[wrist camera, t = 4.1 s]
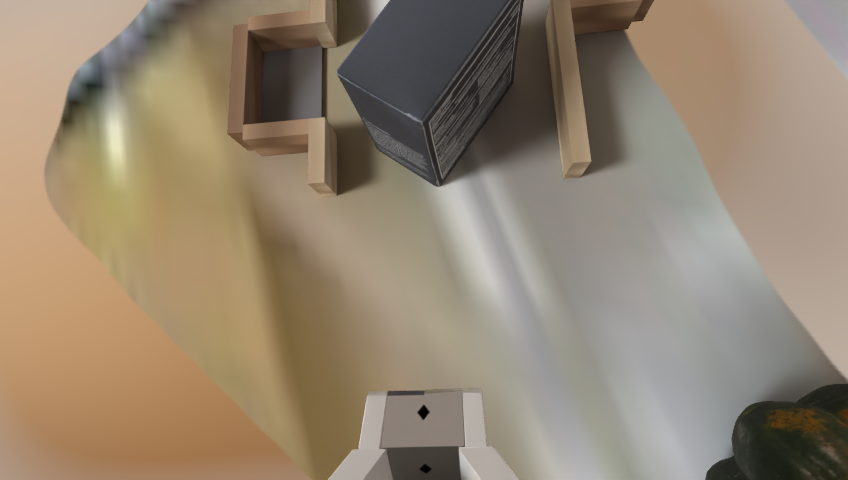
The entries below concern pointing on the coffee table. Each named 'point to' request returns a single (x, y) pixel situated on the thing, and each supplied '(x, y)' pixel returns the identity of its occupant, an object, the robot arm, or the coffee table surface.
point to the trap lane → (317, 28)
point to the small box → (432, 77)
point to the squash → (790, 439)
